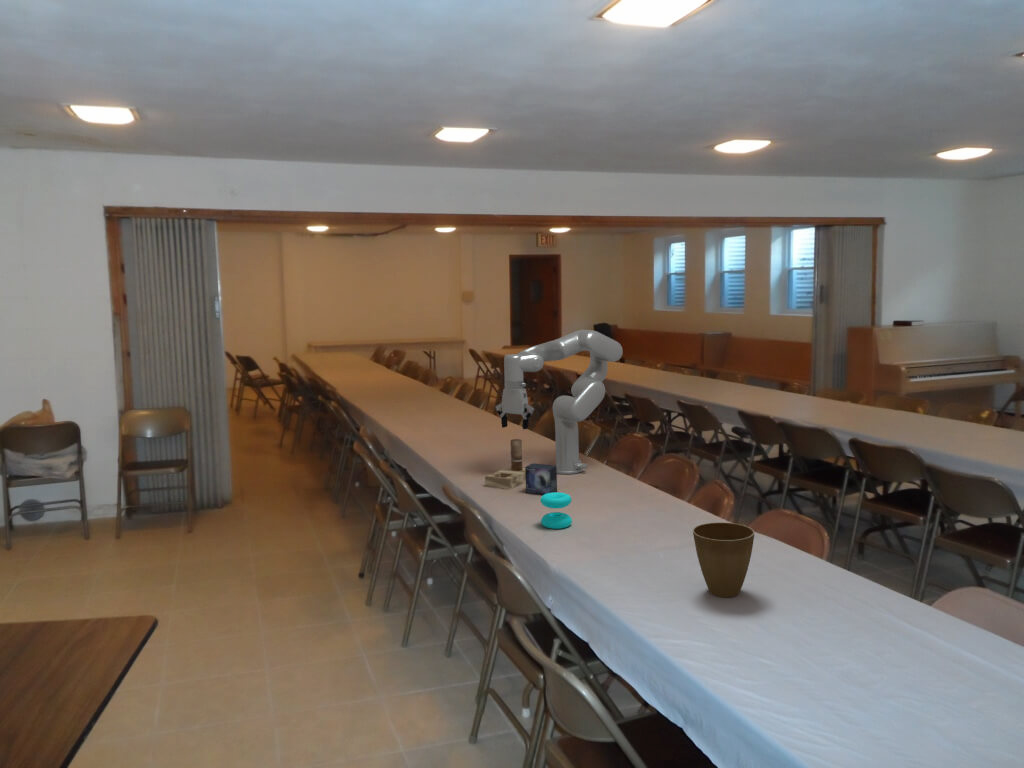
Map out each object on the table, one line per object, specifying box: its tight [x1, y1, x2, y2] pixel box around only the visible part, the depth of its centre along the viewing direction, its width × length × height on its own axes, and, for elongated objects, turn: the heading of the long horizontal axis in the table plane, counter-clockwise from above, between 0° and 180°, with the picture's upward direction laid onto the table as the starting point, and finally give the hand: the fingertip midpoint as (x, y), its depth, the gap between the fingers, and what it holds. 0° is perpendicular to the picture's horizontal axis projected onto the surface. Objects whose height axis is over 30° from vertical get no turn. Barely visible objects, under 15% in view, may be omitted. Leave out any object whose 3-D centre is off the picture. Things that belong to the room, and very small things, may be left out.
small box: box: [525, 462, 558, 496], centre depth 302 cm, size 11×6×10 cm, turn 62°
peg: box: [510, 438, 523, 471], centre depth 323 cm, size 4×4×12 cm
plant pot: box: [692, 521, 755, 598], centre depth 202 cm, size 15×15×16 cm
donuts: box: [540, 491, 573, 530], centre depth 261 cm, size 10×10×10 cm
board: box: [484, 466, 526, 490], centre depth 320 cm, size 20×11×4 cm, turn 149°
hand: (515, 427), depth 321 cm, fingers open, 9 cm apart
